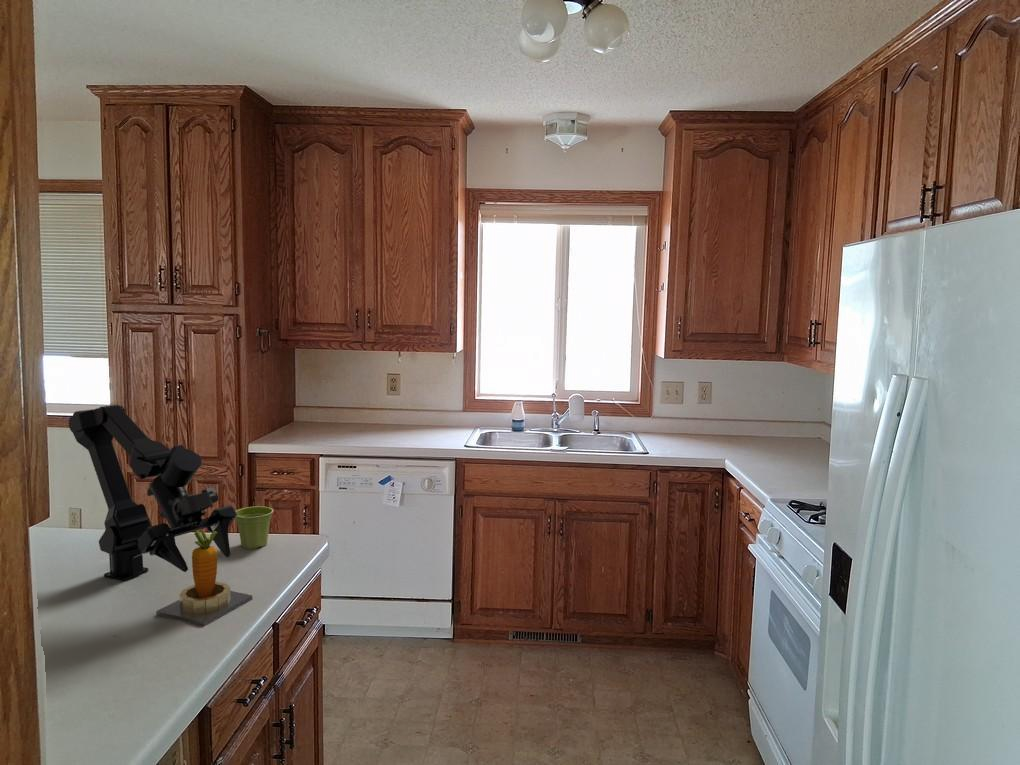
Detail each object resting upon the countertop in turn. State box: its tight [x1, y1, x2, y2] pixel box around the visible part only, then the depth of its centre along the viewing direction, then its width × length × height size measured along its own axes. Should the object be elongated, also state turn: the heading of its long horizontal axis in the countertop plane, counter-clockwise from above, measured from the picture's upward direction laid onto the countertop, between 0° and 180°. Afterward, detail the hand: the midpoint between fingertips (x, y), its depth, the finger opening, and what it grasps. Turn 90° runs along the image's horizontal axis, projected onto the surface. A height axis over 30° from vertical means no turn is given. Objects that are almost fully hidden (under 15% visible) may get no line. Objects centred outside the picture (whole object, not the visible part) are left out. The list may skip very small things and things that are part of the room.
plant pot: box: [235, 506, 274, 549], centre depth 174 cm, size 9×9×9 cm
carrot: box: [191, 530, 218, 598], centre depth 139 cm, size 5×5×15 cm
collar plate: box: [155, 581, 253, 627], centre depth 139 cm, size 12×13×3 cm
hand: (208, 563), depth 137 cm, fingers open, 9 cm apart
